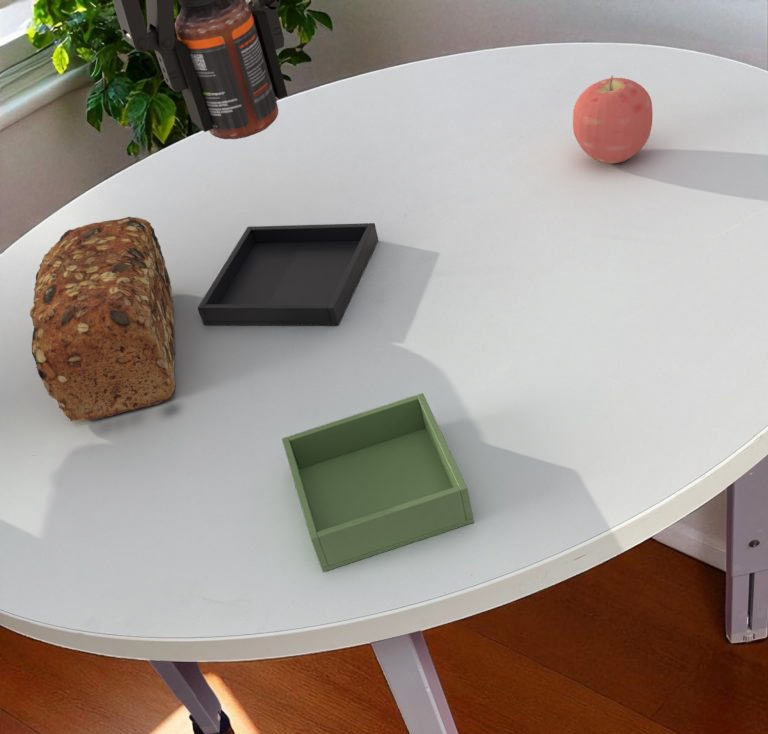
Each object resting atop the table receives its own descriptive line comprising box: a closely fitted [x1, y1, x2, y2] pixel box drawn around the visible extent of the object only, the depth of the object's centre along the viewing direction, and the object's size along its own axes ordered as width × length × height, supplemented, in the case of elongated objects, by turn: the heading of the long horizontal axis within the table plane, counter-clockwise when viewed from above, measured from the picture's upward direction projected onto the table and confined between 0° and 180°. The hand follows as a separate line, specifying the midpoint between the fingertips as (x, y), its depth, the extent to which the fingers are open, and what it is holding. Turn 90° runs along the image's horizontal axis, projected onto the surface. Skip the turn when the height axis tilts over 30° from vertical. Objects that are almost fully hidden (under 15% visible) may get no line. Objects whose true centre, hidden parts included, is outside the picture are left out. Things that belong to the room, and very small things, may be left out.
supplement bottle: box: [174, 0, 279, 140], centre depth 82 cm, size 6×6×11 cm
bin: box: [281, 392, 475, 573], centre depth 76 cm, size 11×11×3 cm
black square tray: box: [197, 222, 379, 327], centre depth 99 cm, size 13×13×2 cm
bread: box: [29, 216, 176, 422], centre depth 93 cm, size 19×11×10 cm, turn 9°
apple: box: [572, 75, 654, 164], centre depth 101 cm, size 7×7×8 cm
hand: (239, 108), depth 85 cm, fingers closed on supplement bottle, 6 cm apart
